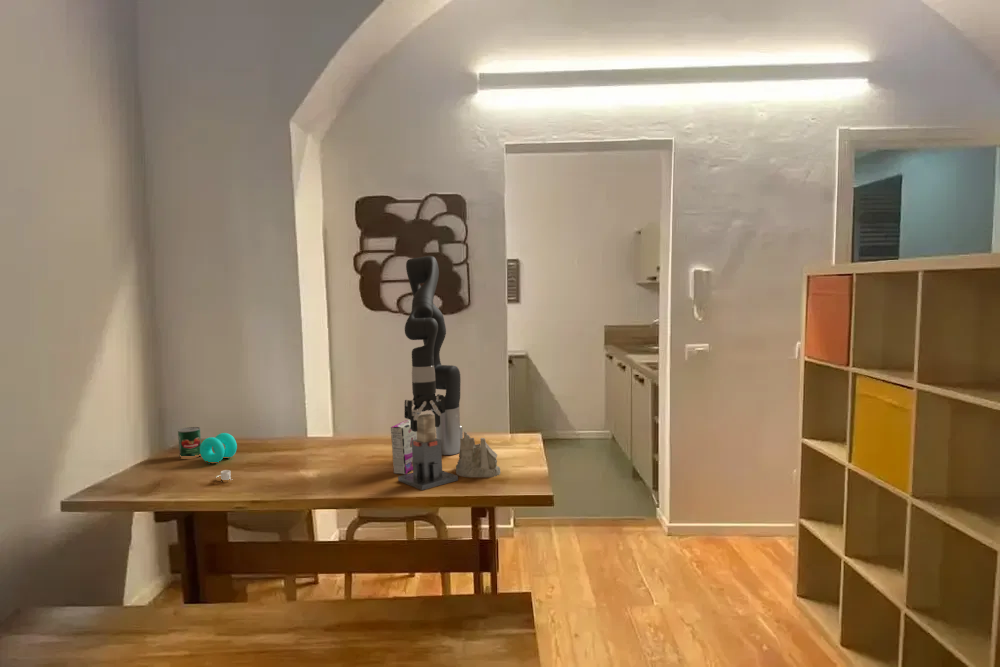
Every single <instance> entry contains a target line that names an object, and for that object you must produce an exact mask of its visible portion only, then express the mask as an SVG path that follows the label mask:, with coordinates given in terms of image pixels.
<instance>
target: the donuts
mask: <svg viewBox="0 0 1000 667" xmlns="http://www.w3.org/2000/svg"><path fill="white" fill-rule="evenodd" d="M237 449H238V444H237V441H236V439H235V437H234V436H233V435H232V434H230V433H228V432H221V433H219V434H217V435H216V436H215V437H214V436H209V437H207V438H205V439H204V440H202V441H201V446H200V454H201V458H202V460H203V461H204V462H206V461H208V462H218V463H220V462H221V461H222V460H223V457H231V458H232V457H233V456H235V454H236V453H237V451H238V450H237ZM219 461H220V462H219Z"/></svg>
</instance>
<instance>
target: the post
mask: <svg viewBox="0 0 1000 667" xmlns="http://www.w3.org/2000/svg"><path fill="white" fill-rule="evenodd" d="M416 420H417V428H418V431H417V441H420V442H423V443H426V442H430V441H435V440H436V427H435V415H434V414H431V413H422V414H419V415H418V417H417V419H416Z"/></svg>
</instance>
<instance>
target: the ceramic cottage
mask: <svg viewBox="0 0 1000 667" xmlns="http://www.w3.org/2000/svg"><path fill="white" fill-rule="evenodd" d="M497 457H498V454H497V452H496V451H494V450H493V448H491V447H490V445H489V444H488V443H487V442H486V438H485V437H481V438H480V443H478V444H476V441H475V438H474V437H471V436H470V434H468V432H467V431H463V438H460V452H459V453H458V459H457V460H458V461H457V464H455V475H457V476H458V477H459V476H460V477H464V478H494V476H495V477H498V476H500V475H501V468H500V466H498V460H497ZM497 475H498V476H497Z"/></svg>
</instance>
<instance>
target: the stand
mask: <svg viewBox="0 0 1000 667" xmlns="http://www.w3.org/2000/svg"><path fill="white" fill-rule="evenodd" d="M412 456H413V470H412V472H411V473H410V472H409V473H407V474H401V475H398V476H397V480H398V482H400V483H403V484H405V485H408V486H411V487H412V488H415V489H418V490H420V491H425V490H428V489H429V490H430V489H431V488H435V487H439V486H443V485H447V484H449V483H450V484H451V483H454V482H457V481H459V475H457V474H454V473H452V472H451V473H450V472H449V471H445V470H443V458H442V456H443V455H442V453H441V440H440V439H436V440H435V441H430V442H426V443H423V442H420V441H417V439H415V440H412Z"/></svg>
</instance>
